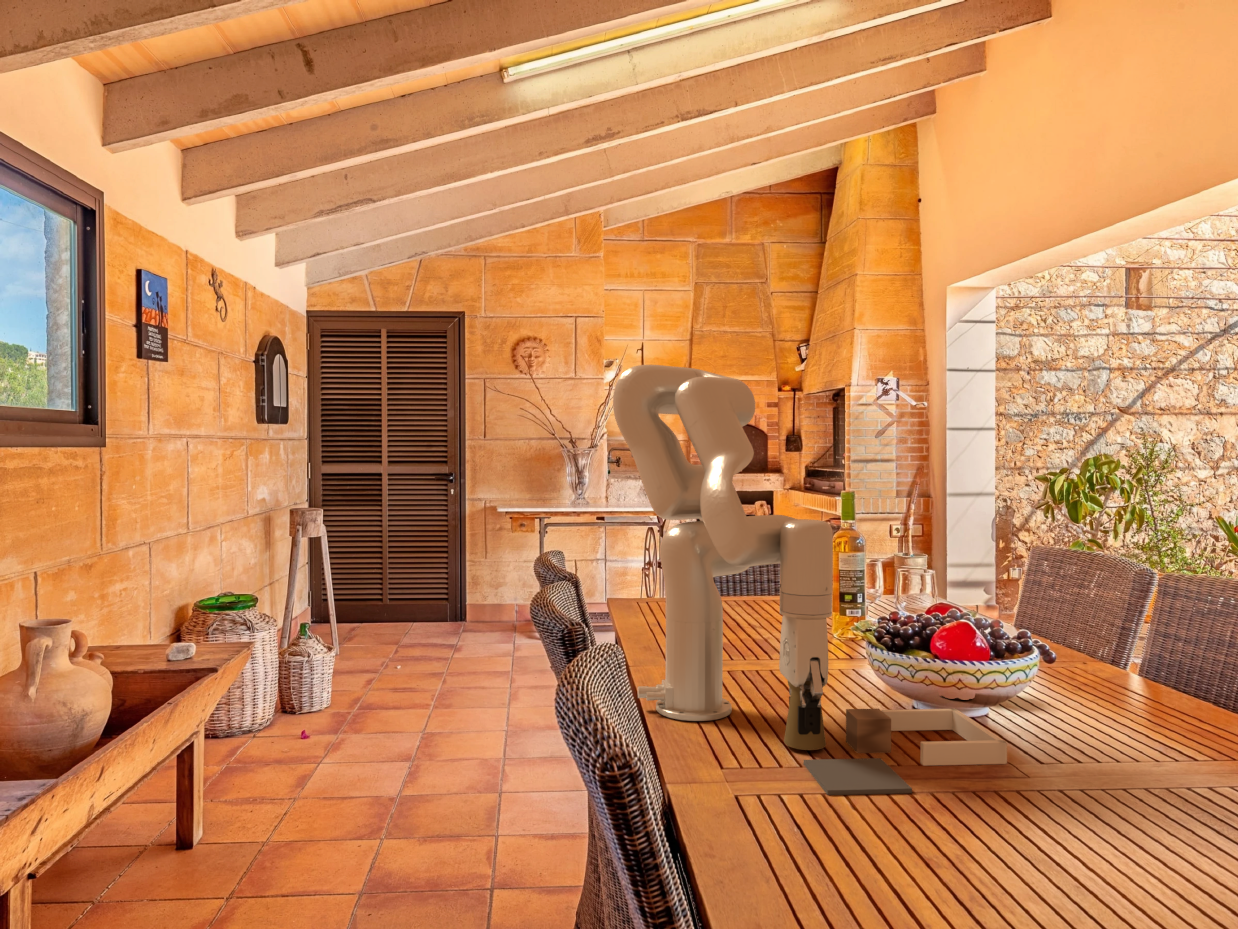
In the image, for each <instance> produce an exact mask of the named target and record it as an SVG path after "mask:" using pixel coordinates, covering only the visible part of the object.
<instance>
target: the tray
mask: <svg viewBox="0 0 1238 929" xmlns="http://www.w3.org/2000/svg"><path fill="white" fill-rule="evenodd" d="M880 710H881V711H882V712H883V713H885V714H886V715H887V716H888V717H890V718H891V732H892V731H894V732H895V731H898V732H899V731H900V732H904V731H906V732H907V731H947V730H949V731H954V732H955V733H956V734H957V735H959V736H960V737H961V738H963V739H965V740H951V741H950V740H945V741H944V740H943V741H942V740H939V741H938V740H937V741H920V755H919V756H920V758H919V759H920V760H919V761H920V764H921V765H922V766H961V765H962V766H964V765H965V766H966V765H969V766H971V765H1007V764H1008V742H1007V741H1006V740H1004V739H1002V738H1001V737H1000V736H998V735H996V734H995V733H993V732H992V731H990V730H989V729H988V728H986V727H984V726H983V725H981V724H979V723H978V722H977V721H975V720H974V719H972V718H971V717H969V716H968V715H967V714H965V713H963V712H961V711H960V710H958V709H957V708H924V709H923V708H921V709H920V708H919V709H917V708H912V709H909V708H908V709H906V708H905V709H880Z"/></svg>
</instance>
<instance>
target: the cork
mask: <svg viewBox="0 0 1238 929" xmlns="http://www.w3.org/2000/svg"><path fill="white" fill-rule="evenodd" d="M820 676H821V674H820ZM821 679H822V678H821ZM787 685H788V687H790V689H791V696H790V695H789V696H790V703H789V702H788V711H787V718H786V725H785V732H784V740H783V742H784V744H785V746H787V747H790V748H793V749H796V750H805V751H814V750H821V749H824V748H825V747H826V745H827V742H826V734H825V726H824V725H825V724H824V716H823V709H822V706H821V726H820V734H813V733H812V732H809V733H808V734H807V735H800V734H799V733H798V706H800V685H799V687H795V686H793V685H792V684H791V683H790V682H789V681H788V680H787ZM804 685H811V681H805V683H804ZM823 688H824V687H822V689H823ZM810 690H811V689H805V694H807V692H810Z"/></svg>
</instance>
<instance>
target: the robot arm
mask: <svg viewBox="0 0 1238 929" xmlns="http://www.w3.org/2000/svg"><path fill="white" fill-rule="evenodd" d="M612 406H613V407H612V408H613V410H612V411H613V415H614V419H615V422H616V425H617V427H618V430H619V432H620V433H621V436H622V438H623V439H624V441H625V443H626V445H627V447H628V449H629V451H630V453H631V455H632V458H633V460H634V463H635V466H636V470H637V472H638V475H639V477H640V480H641V482H642V485H643V489H644V491H645V494H646V496H647V500H648V501H649V504H650V506H651V509H652V510H653V512H654V513H655V514H656V516H658V518H660V519H664V520H666V521H667V520H669V521H681V520H682V521H683V520H692V521H686V522H681V523H678V524H676V525H673V526H672V527H670V528H669V529H667V530H666V532H665V533H664V535H663V536H662V538H661V541H660V546H659V558H660V564H661V568H662V574H663V579H664V591H665V679H661V683H660V684H659V683H658V684H656V685H655V686H648V685H645V686H643V685H641V686H640V685H639V686H637V699H646V701H656V703H655V710H656V712H657V713H659V714H660V715H661V716H664V717H666V718H668V719H669V718H670V719H675V720H679V721H685V722H686V721H687V722H706V721H707V722H708V721H715V720H720V719H723V718H725V717H728V716H729V715H730V714H731V713H732V703H731V702H730V701H728V700H727V699H725V698H723V672H724V671H723V669H724V668H723V664H724V662H723V661H724V660H723V657H724V655H723V653H724V652H723V651H724V649H723V646H724V639H723V638H724V630H723V629H724V626H723V625H724V617H723V616H724V615H723V614H724V612H723V611H724V609H723V602H722V597H721V594H720V592H719V590H718V588H717V585H716V584H715V580H714V578H716V577H723V576H731V575H735V574H741V573H743V572H745V571H747V570H748V569H749V568H750V567H757V566H764V565H765V566H767V565H775V564H776V565H777V564H779V614H780V615H781V616H782V617H781V629H780V641H779V642H780V643H779V664H778V668H779V672H780V674H781V675H782V676H783V677H784V678H785V679H786V680H787V682H788V681H789V682H790V683H791V684H792V685H793V686H795V687H799V685H800V706H798V733H799V734H800V735H807V734H808V733H809V732H812V733H813V734H820V726H821V707H822V697H823V695H824V690H823V688H824V687H826V685H827V684H828V682H829V681H828V680H829V640H828V639H829V638H828V633H829V632H828V625H827V624H828V623H827V621H828V620H827V619H828V618H830V617H832V616H833V555H834V553H833V552H834V550H833V548H834V546H833V545H834V544H833V542H834V541H833V537H834V534H833V528H832V526H831V524H830V523H828V522H827V521H825V520H824V521H823V520H821V519H798V518H795V517H792V516H788V515H783V514H767V515H764V514H763V515H749V516H747V513H746V511H745V510H744V507H743V504H742V502H741V499H740V498H739V495H738V493H737V490H736V488H735V486H734V482H733V478H734V476H736V475H737V474H739V473H740V472H741V471H743V470H744V469H745V468H747V467H748V465H749V464H750V463H751V462H752V461H753V458H754V455H755V454H754V453H755V452H754V451H755V450H754V448H753V444H752V443H751V442H750V440H749V438H748V436H747V434H746V432H745V429H744V426H747V425H748V424H749V423H750V422H751V421H752V420H753V417H754V415H755V412H756V398H755V397H754V393H753V391H752V390H751V388H750V387H749V386H748V384H746V382H744V381H742V380H740V379H737V378H734V377H729V376H726V375H722V374H718V373H714V372H710V371H707V370H704V369H700V368H699V369H698V368H692V367H684V366H674V365H673V366H671V365H663V364H661V365H660V364H638V365H635V366H632V367H629V368H628V369H626V370H624V371H623V372H622V373H621V374H620V375H619V377H618V379H617V381H616V383H615V386H614V390H613V396H612ZM660 414H661V415H678V416H679V418H680V420H681V423H682V424H683V427H684V429H685V432H686V434H687V436H688V438H689V440H690V442H691V444H692V447H693V449H694V451H695V453H696V455H697V458H698V459H699V462H700V463H701V464H692V463H691V462H689V461H688V459H687V457H686V455H685V453H684V451H683V449H682V445H681V443H680V441H679V439H678V437H677V435H676V433H675V431H673V430H672V429H671V427H670V426H668V424H666V422H664V420H662V419H661V417H660V416H659V415H660ZM693 520H694V521H693ZM695 520H696V521H695ZM820 674H821V676H820ZM821 678H822V679H821ZM805 681H811V685H804V683H805ZM788 687H789V686H788ZM822 687H823V688H822ZM805 689H811V690H810V692H807V694H805ZM788 692H789V696H788V704H789V703H790V696H791V689H790V687H789V688H788Z"/></svg>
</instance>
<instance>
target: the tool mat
mask: <svg viewBox="0 0 1238 929" xmlns="http://www.w3.org/2000/svg"><path fill="white" fill-rule="evenodd" d="M803 765H804V767H805V768H806V770H807V771H808V772H809V774H811V776H812V777H813V779H814V780H815V781H816V783H818V785H819V786H820V787H821V789H822V790H823V791H824V792H825V794H826V795H827V796H843V795H844V796H846V795H848V796H849V795H852V796H853V795H884V794H885V795H886V794H887V795H888V794H889V795H890V794H893V795H894V794H913V788H912V786H910V785H909V784H908V783H907V781H905V780H904V779H903V778H902V777H901V776H900V775H899V773H897V772H895V770H894V769H893V768H892V767H891V766H889V765H888V764H887V763H886V762H885V761H884V760H883V759H882V758H881V757H878V758H877V757H876V758H875V757H874V758H872V757H871V758H869V757H868V758H826V759H822V758H821V759H803Z"/></svg>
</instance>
